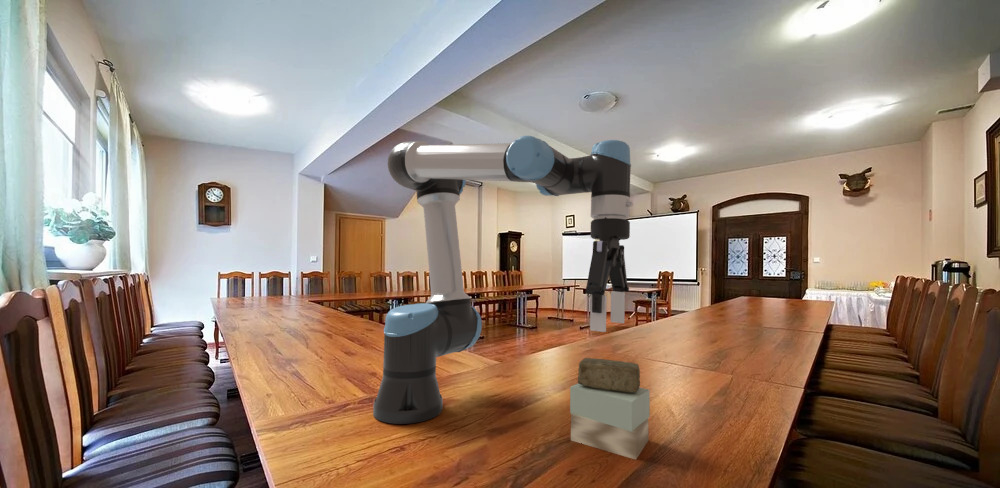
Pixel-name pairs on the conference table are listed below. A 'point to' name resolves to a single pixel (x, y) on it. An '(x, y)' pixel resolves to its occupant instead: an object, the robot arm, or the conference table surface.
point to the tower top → (610, 406)
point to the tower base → (609, 436)
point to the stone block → (609, 375)
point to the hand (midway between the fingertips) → (608, 326)
